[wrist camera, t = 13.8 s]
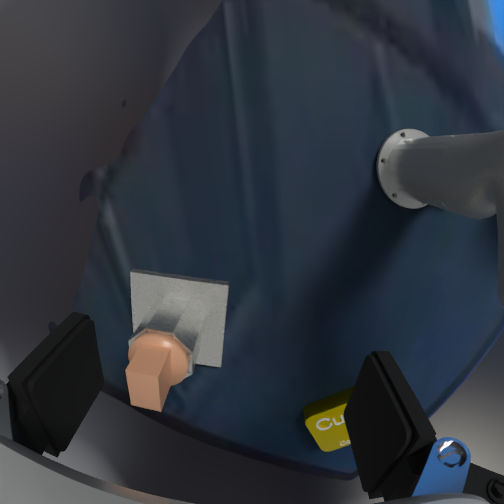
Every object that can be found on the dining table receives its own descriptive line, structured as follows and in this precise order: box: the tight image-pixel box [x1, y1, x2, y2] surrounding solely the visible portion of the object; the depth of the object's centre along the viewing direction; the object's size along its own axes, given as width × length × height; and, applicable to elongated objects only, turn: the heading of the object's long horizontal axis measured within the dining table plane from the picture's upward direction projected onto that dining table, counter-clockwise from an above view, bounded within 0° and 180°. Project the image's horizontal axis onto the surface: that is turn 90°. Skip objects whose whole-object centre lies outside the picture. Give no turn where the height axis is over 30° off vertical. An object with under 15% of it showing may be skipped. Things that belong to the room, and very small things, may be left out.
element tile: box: [303, 387, 354, 452], centre depth 54 cm, size 15×15×5 cm
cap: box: [126, 331, 189, 412], centre depth 36 cm, size 8×8×10 cm
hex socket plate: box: [129, 269, 229, 378], centre depth 44 cm, size 16×16×12 cm
